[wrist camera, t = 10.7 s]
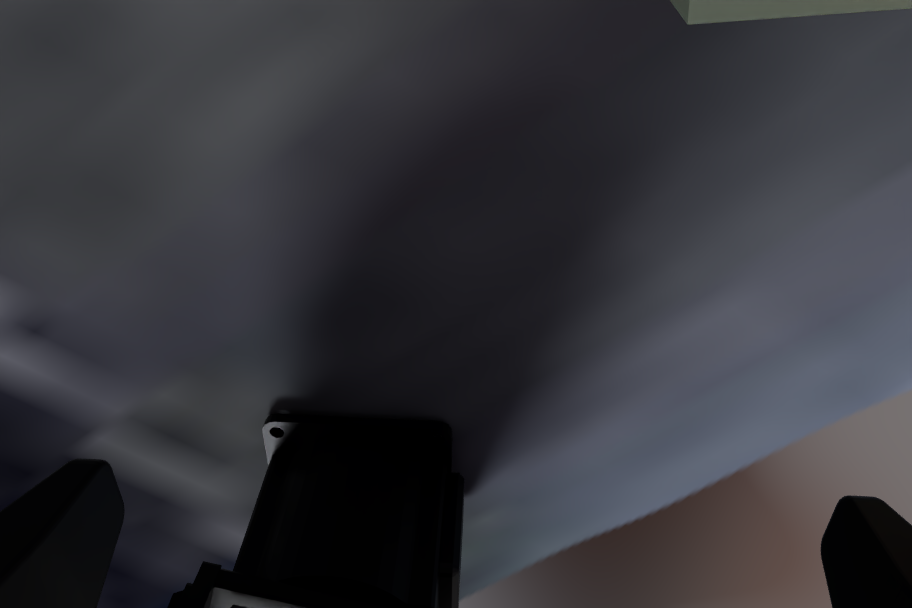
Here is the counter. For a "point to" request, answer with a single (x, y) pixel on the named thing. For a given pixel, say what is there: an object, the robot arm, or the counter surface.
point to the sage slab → (775, 8)
